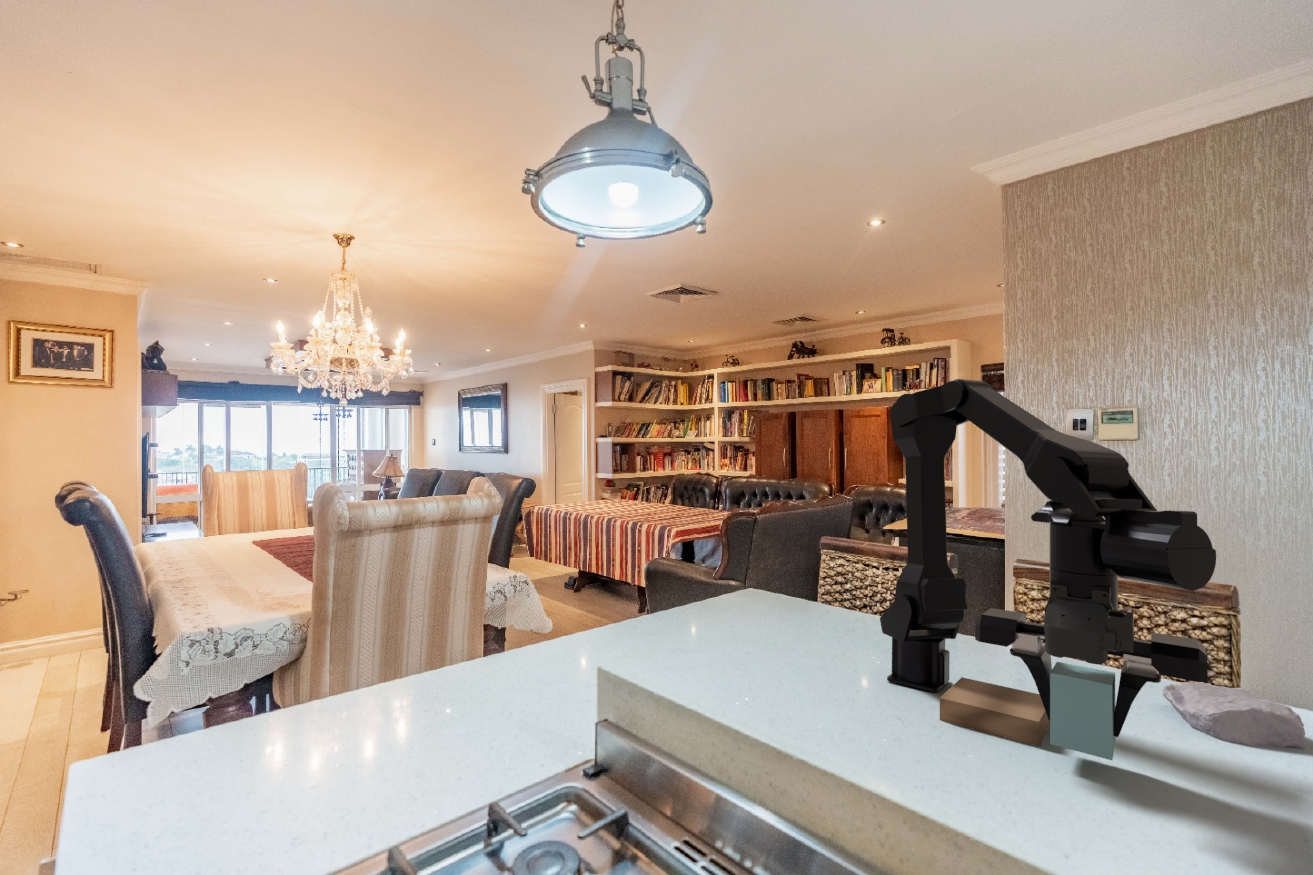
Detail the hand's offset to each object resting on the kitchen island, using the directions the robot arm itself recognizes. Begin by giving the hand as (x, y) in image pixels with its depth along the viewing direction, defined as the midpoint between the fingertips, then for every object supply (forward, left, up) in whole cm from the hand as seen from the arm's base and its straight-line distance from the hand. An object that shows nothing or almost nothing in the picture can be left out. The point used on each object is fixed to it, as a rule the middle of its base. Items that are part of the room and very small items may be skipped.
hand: (1082, 727), depth 62 cm
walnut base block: (-9, +7, -4) cm, 12 cm away
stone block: (+12, +25, -4) cm, 28 cm away
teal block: (0, 0, -2) cm, 2 cm away
